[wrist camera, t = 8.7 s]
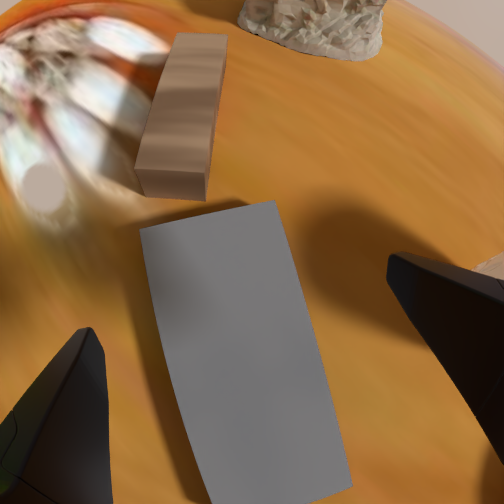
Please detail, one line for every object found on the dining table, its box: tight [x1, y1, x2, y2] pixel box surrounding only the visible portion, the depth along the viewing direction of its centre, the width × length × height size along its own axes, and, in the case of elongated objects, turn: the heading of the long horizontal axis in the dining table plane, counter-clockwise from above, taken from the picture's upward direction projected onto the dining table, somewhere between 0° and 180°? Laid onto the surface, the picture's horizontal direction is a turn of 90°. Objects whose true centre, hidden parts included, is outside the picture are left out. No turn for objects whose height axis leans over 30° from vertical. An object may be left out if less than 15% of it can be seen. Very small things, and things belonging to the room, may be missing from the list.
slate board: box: [139, 200, 353, 504], centre depth 17 cm, size 18×8×2 cm, turn 15°
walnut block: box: [134, 33, 228, 201], centre depth 21 cm, size 4×4×13 cm
